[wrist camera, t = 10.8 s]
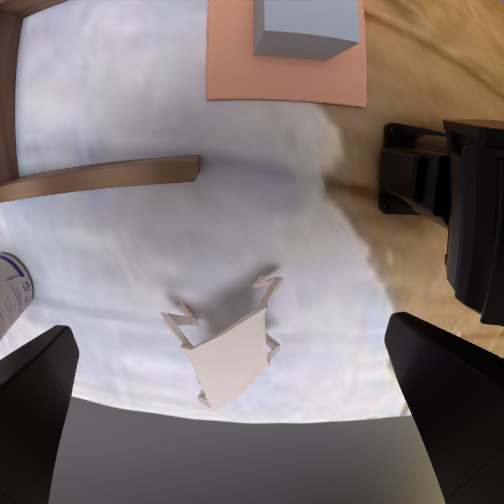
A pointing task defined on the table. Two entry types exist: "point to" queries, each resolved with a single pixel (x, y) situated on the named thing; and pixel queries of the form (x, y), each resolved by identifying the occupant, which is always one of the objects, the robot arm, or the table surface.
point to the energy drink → (12, 291)
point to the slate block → (305, 28)
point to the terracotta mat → (277, 64)
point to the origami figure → (229, 350)
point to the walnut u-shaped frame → (71, 179)
